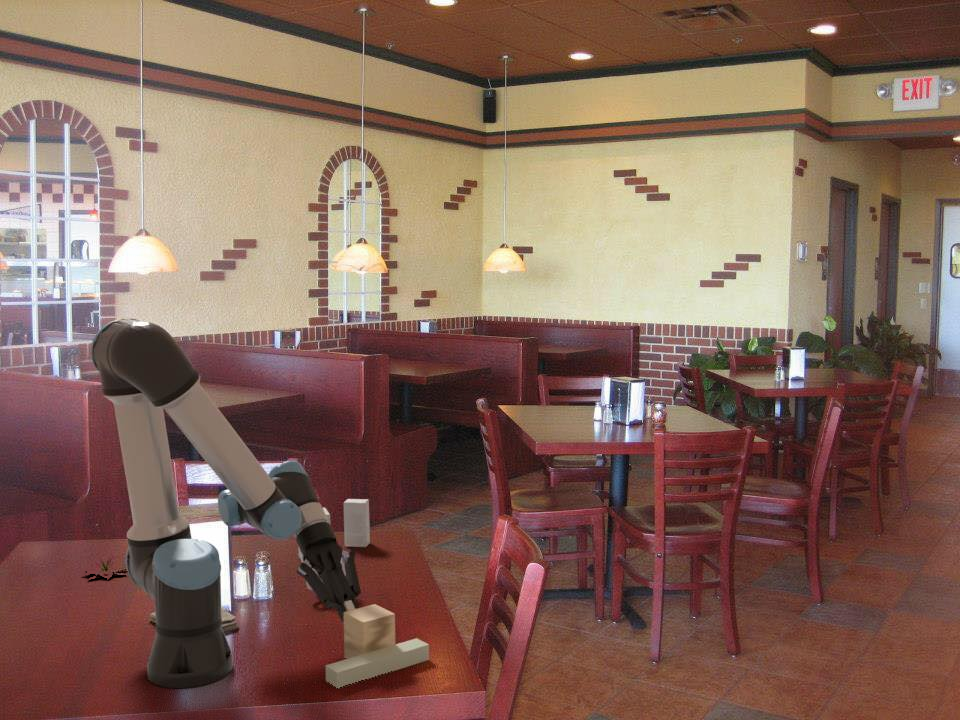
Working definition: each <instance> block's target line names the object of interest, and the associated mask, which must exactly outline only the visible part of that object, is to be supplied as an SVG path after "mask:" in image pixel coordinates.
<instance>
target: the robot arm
mask: <svg viewBox="0 0 960 720" xmlns="http://www.w3.org/2000/svg"><path fill="white" fill-rule="evenodd" d="M90 358H91V360H92V363H93V366H94V367H95V369H96V370H97V371H98V372H99V377H100V383H101V388H102V395H103V397H104V398H106V399H107V400H108V401H110V402H111V403H113V408H114V414H115V420H116V425H117V427H116V428H117V432H118V438H119V443H120V451H121V457H122V461H123V463H122V464H123V467H124V468H123V469H124V474H125V479H126V486H127V492H128V493H127V494H128V498H129V505H130V511H131V517H132V518H131V519H132V522H133V524H132V526H130V528H129V529H128V530H127V532H126V539H127V545H128V547H127V549H126V553H125V568H126V569H127V570H126V571H127V573H128V575H129V577H130V579H131V581H132V582H133V584H135V585H136V586H137V587H138V588H139V589H140V590H142V591H143V592H144V593H145V594H146V595H148V596H149V597H150V598H151V599H152V600H153V601H154V612H155V621H156V624H155V636H154V640H153V643H152V646H151V649H150V654H149V656H148V659H147V664H146V672H147V673H146V676H148V677H147V679H148V680H150V681H149V682H151V683H152V682H153V683H152V684H154V685H156V686H159V687H163V688H169V689H170V688H172V689H182V688H183V689H185V688H194V687H200V686H203V685H204V686H205V685H208V684H211V683H214V682H216V681H219V680H222V679H223V678H225V677H226V676H227V675H229V674H230V673H231V672H232V670H233V665H234V662H233V660H234V659H233V653H232V652H233V651H232V650H231V647H230V645H229V643H228V640H227V637H226V634H225V633H224V631H223V629H222V618H221V608H222V587H221V584H222V583H221V578H222V577H221V572H222V563H221V560H220V553H219V551H218V549H217V548H216V546H215V545H214V544H212V543H210V542H208V541H204V540H198V538H197V539H196V538H192V533H191V528H190V521H189V520H188V519H186V518H184V517H183V516H181V515H180V508H179V502H178V496H177V490H176V484H175V483H176V482H175V476H174V470H173V466H172V465H173V463H172V458H171V452H170V444H169V437H168V433H167V432H168V431H167V426H166V420H165V419H166V418H165V413H164V411H165V412H166V413H167V415H168V416H169V417H170V419H171V420H172V421H173V422H174V423H175V424H176V426H177V427H178V428H179V430H180V431H181V433H183V435H185V437H186V439H187V440H188V441H189V442H190V444H191V445H192V446H193V447H194V449H195V450H196V451H197V453H199V455H200V456H201V458H202V459H203V460H204V461H205V463H207V465H208V466H209V467H210V469H211V470H212V471H213V473H215V475H216V476H217V477H218V479H219V480H220V481H221V482H222V483H223V485H224V486H225V487H226V489H224V490H222V491H220V493H219V494H218V497H217V508H218V512H219V515H220V516H219V517H220V518H221V520H222V522H223V523H224V525H226V526H227V527H234V526H242V525H243V524H247V525H248V526H251V527H252V528H254V529H257V530H258V531H259V532H261V533H263V534H264V535H265V536H267V537H268V538H273V539H275V540H280V541H283V540H287V539H290V538H292V537H293V536H294V537H295V541H296V543H297V546H299V549H300V551H301V553H302V554H303V561H304V562H303V563H302V562H301V563H300V565H299V566H298V567H297V569H296V573H297V574H298V575H299V576H301V577H302V578H303V579H305V582H306V581H307V582H308V584H309V585H310V587H311V588H312V589H313V590H312V591H313V592H314V594H315V595H316V596H317V598H318V599H319V600H320V601H321V603H322V605H323V606H324V607H325V608H327V609H328V608H330V607H332V608H331V609H332V610H334V611H336V612H337V614H338V616H339V618H340V621H341V622H342V623H344V612H346V611H350V610H354V609H358V608H359V606H358V604H357V602H356V600H357V598H359V597H360V595H361V593H362V592H361V591H362V590H361V585H360V581H359V576H358V571H357V567H356V564H355V558H356V552H355V551H354V550H350V551H346V550H344V549H343V547H342V546H341V545H340V544H339V543H338V541H337V537H336V534H335V531H334V530H333V528H332V526H331V523H330V524H329V523H328V518H327V516H326V514H325V512H324V510H323V508H324V507H323V506H322V504H321V503H320V500H319V498H318V495H317V493H316V491H315V489H314V487H313V484H312V482H311V478H310V476H309V474H308V473H307V471H306V470H305V468H304V466H303V465H302V464H301V462H299V461H297V460H287V461H283V462H282V463H280V464H277V465H275V466H274V467H273V468H272V469H271V470H270V471H269V473H268V472H267V471H266V470H265V468H264V467H263V466H262V465H261V463H260V462H259V460H258V459H257V457H255V455H254V454H253V452H252V451H251V450H250V449H249V447H248V446H247V445H246V443H245V442H244V441H243V438H241V437H240V436H239V434H238V433H237V431H236V430H235V429H234V428H233V426H232V424H231V423H230V422H229V421H228V419H227V418H226V417H225V415H223V413H222V412H221V411H220V409H219V408H218V407H217V405H216V404H215V402H214V401H213V400H212V398H211V397H210V396H209V395H208V393H207V392H206V390H205V389H204V388H203V386H202V385H201V384H200V383H201V382H200V381H201V375H200V373H199V371H198V370H197V369H196V368H195V366H194V364H193V363H192V362H191V361H190V359H189V358H188V357H187V354H185V352H184V351H183V350H182V348H181V347H180V345H179V344H178V343H177V341H176V340H175V338H174V337H173V336H172V334H170V332H168V331H167V330H166V329H165V328H163V326H160V325H158V324H156V323H153V322H150V321H149V322H148V321H141V320H138V319H134V318H121V319H117V320H115V319H114V320H112V321H109V322H108V323H106V324H104V325H103V326H101V328H100V329H99V330H97V332H96V334H95V335H94V337H93V339H92V341H91V345H90ZM299 549H298V550H299ZM341 557H342V559H343V563H345V572H346V576H345V574H344V572H343V570H342V564H341V562H340V561H341ZM312 568H313V569H314V570H316V571H317V573H318V575H317V574H316V573H315V571H314V570H313V569H312ZM318 576H319V577H318ZM321 579H322V581H323V582H322V581H321Z"/></svg>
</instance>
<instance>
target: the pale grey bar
mask: <svg viewBox="0 0 960 720" xmlns="http://www.w3.org/2000/svg"><path fill="white" fill-rule="evenodd" d="M427 661H430V644H429V643H427V642H425V641H423V640H421V639H419V638H418V637H416V638H413V639H409V640H406V641H404V642H403V641H402V642H399V643H395V645H392V646H389V647H386V648H382V649H379V650H375V651H372V652H369V653H365V654H362V655H359V656H355V657H352V658H349V659H345V658H344V659H341V660H339V661H336V662H333V663H329V664H325V682H326V681H327V682H326V683H328V682H329V683H330V684H329V683H328V684H329V685H331V684H332V685H333V686H332V685H331V686H332V687H334V686H335V687H336V689H337V688H338V689H341V688H340V687H342V688H344V687H343V686H345V685H348V684H351V685H353V684H352V683H354V684H356V683H355V682H357V683H359V682H358V681H361V680H364V681H366V680H365V679H367V680H370V679H372V677H373V678H376V677H379V676H378V675H380V676H382V675H381V674H383V675H386V674H389V673H392V672H394V671H398V670H401V669H405V668H408V667H410V666H413V665H417V664H421V663H424V662H427ZM391 671H392V672H391ZM388 672H389V673H388ZM385 673H386V674H385ZM375 676H376V677H375ZM369 678H370V679H369ZM361 682H362V681H361ZM348 686H349V685H348ZM335 687H334V688H335ZM345 687H346V686H345Z"/></svg>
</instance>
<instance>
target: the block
mask: <svg viewBox="0 0 960 720" xmlns="http://www.w3.org/2000/svg"><path fill="white" fill-rule="evenodd" d="M343 644H344V645H343V646H344V647H343V650H344V653H343V654H344V655H343V657H344V659H345V658H347V659H349V658H352V657H355V656H359V655H362V654H365V653H369V652H372V651H375V650H379V649H382V648H386V647H389V646H392V645H396V614H395V613H394V612H392V611H390V610H388V609H386V608H384V607H381V606H380V605H377V604H375V603H374V604H370V605H366V606H362V607H358V609H354V610H350V611H346V612H344V622H343Z"/></svg>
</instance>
